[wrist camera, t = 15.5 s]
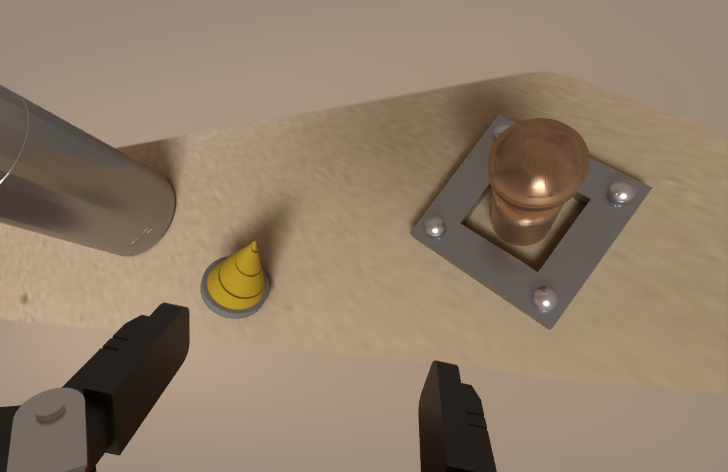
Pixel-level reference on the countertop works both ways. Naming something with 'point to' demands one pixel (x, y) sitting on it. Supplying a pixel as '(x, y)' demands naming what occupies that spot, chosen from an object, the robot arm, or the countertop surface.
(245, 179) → the countertop surface
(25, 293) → the countertop surface
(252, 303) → the drill bit
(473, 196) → the flange
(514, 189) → the pipe stub
